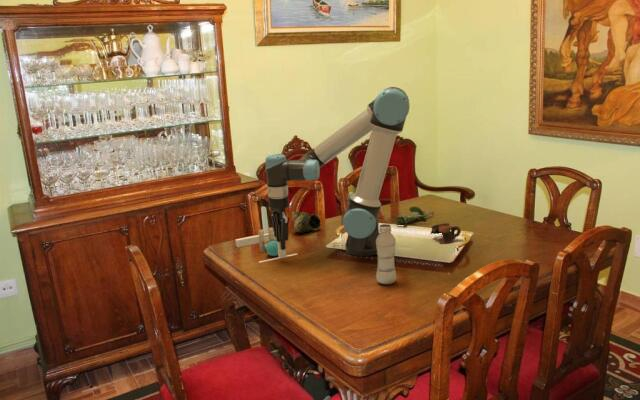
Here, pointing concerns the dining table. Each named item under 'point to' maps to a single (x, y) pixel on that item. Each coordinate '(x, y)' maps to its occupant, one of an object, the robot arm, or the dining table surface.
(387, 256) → the plastic bottle
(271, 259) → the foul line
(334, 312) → the dining table surface
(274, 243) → the ball
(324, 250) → the dining table surface
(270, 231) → the pin
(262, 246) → the pin
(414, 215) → the figure
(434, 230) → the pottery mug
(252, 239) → the back rail
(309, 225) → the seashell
